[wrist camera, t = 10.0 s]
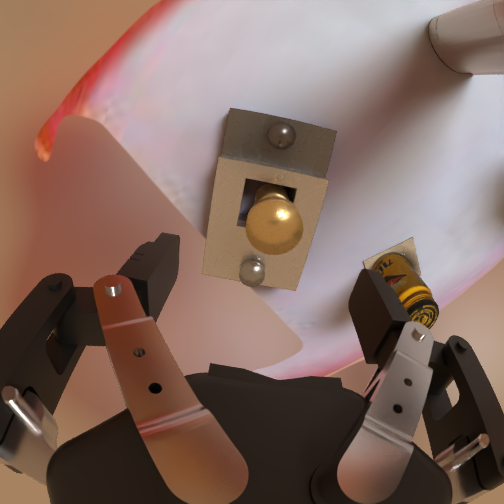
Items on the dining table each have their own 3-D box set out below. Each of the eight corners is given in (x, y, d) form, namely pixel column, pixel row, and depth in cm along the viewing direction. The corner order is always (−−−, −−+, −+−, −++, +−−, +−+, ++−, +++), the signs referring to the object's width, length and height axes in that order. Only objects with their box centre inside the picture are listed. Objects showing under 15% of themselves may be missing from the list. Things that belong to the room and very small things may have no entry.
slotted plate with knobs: (332, 130, 30) (345, 133, 25) (292, 274, 39) (296, 298, 34) (231, 108, 29) (225, 106, 24) (207, 258, 38) (199, 280, 33)
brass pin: (297, 182, 33) (310, 208, 24) (287, 221, 35) (295, 259, 26) (254, 173, 33) (251, 196, 24) (246, 213, 35) (240, 249, 26)
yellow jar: (362, 261, 37) (393, 314, 27) (412, 236, 35) (455, 280, 25) (375, 296, 40) (401, 351, 30) (420, 274, 38) (456, 321, 27)
